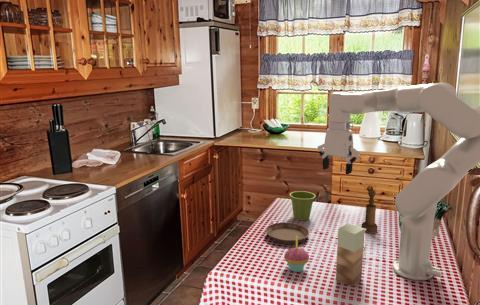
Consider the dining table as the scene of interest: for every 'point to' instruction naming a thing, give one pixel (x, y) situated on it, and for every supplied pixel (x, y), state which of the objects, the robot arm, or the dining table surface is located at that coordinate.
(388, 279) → the dining table surface
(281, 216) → the dining table surface
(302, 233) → the plant saucer
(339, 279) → the tower base
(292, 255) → the cupcake
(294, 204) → the plant pot
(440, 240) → the dining table surface
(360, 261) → the tower top
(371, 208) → the brown carved statuette
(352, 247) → the sage block
